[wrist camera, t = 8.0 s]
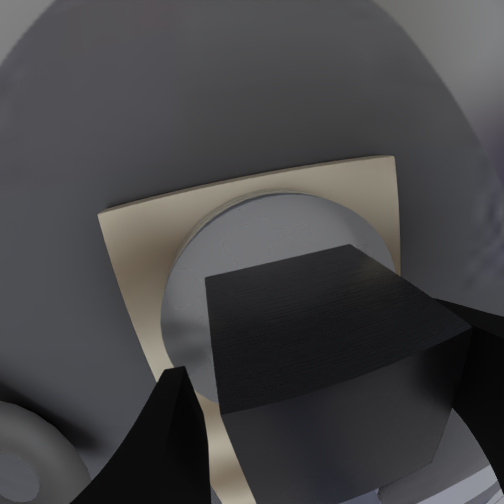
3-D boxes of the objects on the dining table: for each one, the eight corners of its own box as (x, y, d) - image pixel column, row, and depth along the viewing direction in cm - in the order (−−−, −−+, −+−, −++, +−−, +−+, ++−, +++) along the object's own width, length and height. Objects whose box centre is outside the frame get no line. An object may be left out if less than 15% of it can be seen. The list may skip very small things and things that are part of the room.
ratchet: (362, 470, 19) (385, 513, 15) (245, 504, 18) (256, 553, 14) (366, 172, 12) (438, 185, 8) (137, 217, 11) (106, 255, 7)
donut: (-29, 392, 13) (-86, 497, 4) (-26, 360, 13) (-101, 474, 3) (97, 464, 16) (82, 588, 7) (112, 441, 16) (96, 583, 6)
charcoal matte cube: (354, 358, 12) (431, 462, 7) (235, 391, 12) (265, 524, 6) (349, 243, 11) (472, 326, 5) (204, 277, 10) (220, 415, 5)
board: (373, 455, 20) (379, 466, 19) (225, 498, 19) (227, 510, 18) (379, 155, 13) (394, 156, 12) (105, 208, 12) (97, 214, 11)
